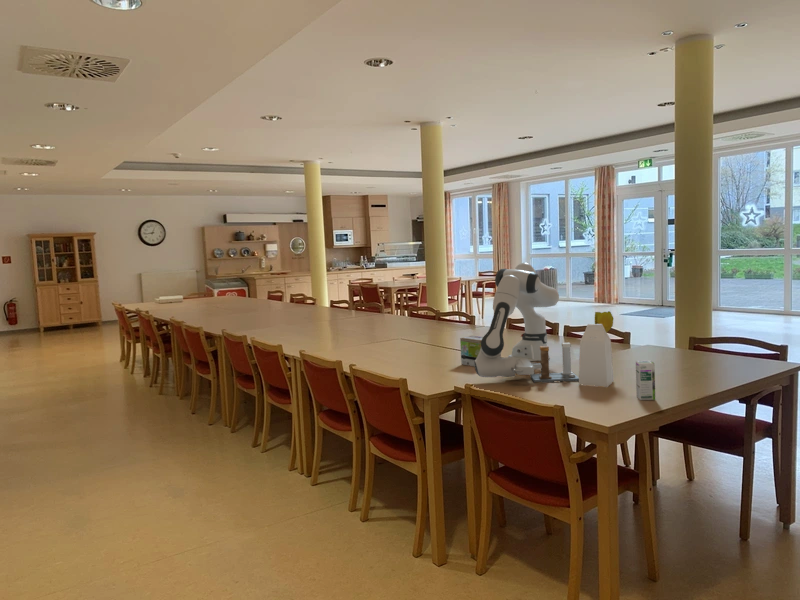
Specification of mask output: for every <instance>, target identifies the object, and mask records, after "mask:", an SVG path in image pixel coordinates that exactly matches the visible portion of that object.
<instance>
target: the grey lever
mask: <svg viewBox="0 0 800 600" xmlns="http://www.w3.org/2000/svg"><path fill="white" fill-rule="evenodd" d="M571 345H572V344H571V342H562V343H561V348H562V349H561V350H562V371H560V373H561V374H562V375H569V374H573V373H574V372H573V371H572V366H571V365H572V359H571V358H572V357H571V347H572V346H571Z"/></svg>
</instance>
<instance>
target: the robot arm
mask: <svg viewBox="0 0 800 600" xmlns="http://www.w3.org/2000/svg"><path fill="white" fill-rule="evenodd" d="M540 277H541V276H540V275H539V274H538V273H537V272H536V270H535V268H534V267H533V266H532V265H531V264H530V263H528V262H520V263H518V264H517V265H516V267H515V268H509V269H508V268H499V270H498V271H497V272H496V273H495V277H494V283H495V286H496V291H495V293H494V297H493V301H492V309H493V317H492V320H491V323H490V327H489V329H488V331H487V332H486V333H485V334H484V336H482V337H483V338H482V341H481V349H480V352H479V354H478V356H477V358H476V360H475V361H474V365H475V366H474V370H475V372H476V374H477V376H479V377H481V378H497V377H502V378H509V377H510V378H511V377H514V378H515V377H516V374H517V375H520V376H521V375H522V376H523V375H526V376H530V375H532V374H535V370H537V369H541V368H542V365H541V350H540V346H548V344H547V343H548V333H547V326H546V322H547V321H546V318H545V317H544V316H543V314H541V313H538V312H537V311H536V310H535V308H549V307H550V308H551V307H554V306H557V303H558V302H559V299H560V295H559V292H558V290H557V289H556V288H555V287H552V286H549V285H546V284H545V283H543V282H542V281H541V278H540ZM516 308H517V309H518V311H519V312H520V313H521V315H522V318H523V323H524V332H523V333H522V334H521V335H520V337H521V338H522V339H521V340H519V341H518V342H517V343H516V344H515V345H513V347H512V349H511V354H509V355H507V356H504V357H502V356H501V354H502V351H503V350H504V347H505V342H504V330H505V328H506V324H507V320H508V318H509V317H510V316H511V315H512V314H513V313H514V311H515V310H516ZM548 355H549V360H550V358H551V357H550V354H549V353H548ZM536 361H537V362H538V361H540V362H538V363H537V362H536Z"/></svg>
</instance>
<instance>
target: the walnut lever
mask: <svg viewBox="0 0 800 600" xmlns="http://www.w3.org/2000/svg"><path fill="white" fill-rule="evenodd" d="M540 350H541V360H540V363H541V365H542V368H540V374H541V375H539V377H540V379H547V378H552V377H551V376H550V375H549V373H550V364H549V363H550V359H549V357H550V354H549V351H550V347H549V346H548V345H547V346H540ZM548 354H549V355H548Z"/></svg>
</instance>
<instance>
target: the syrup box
mask: <svg viewBox="0 0 800 600" xmlns="http://www.w3.org/2000/svg"><path fill="white" fill-rule="evenodd" d="M655 370H656V369H655V363H654V361H652V360H635V383H636V386H635V387H636V388H635V389H636V397H637V399H638V400H639V401H656V373H655V372H656V371H655Z"/></svg>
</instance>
